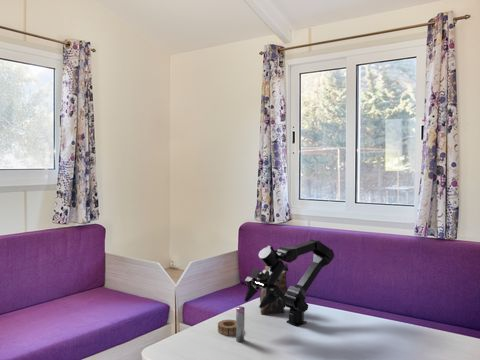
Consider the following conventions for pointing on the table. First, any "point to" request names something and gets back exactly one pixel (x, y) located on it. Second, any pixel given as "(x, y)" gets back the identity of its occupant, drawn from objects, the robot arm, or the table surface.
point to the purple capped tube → (240, 324)
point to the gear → (227, 327)
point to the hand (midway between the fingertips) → (252, 304)
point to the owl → (276, 305)
